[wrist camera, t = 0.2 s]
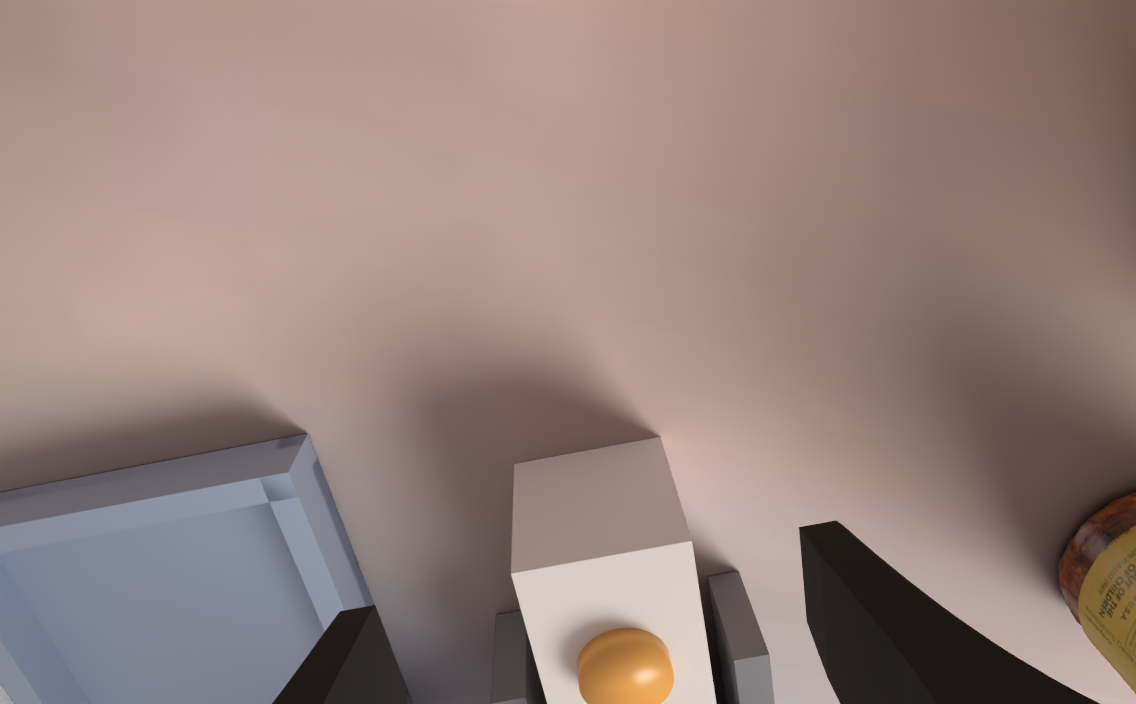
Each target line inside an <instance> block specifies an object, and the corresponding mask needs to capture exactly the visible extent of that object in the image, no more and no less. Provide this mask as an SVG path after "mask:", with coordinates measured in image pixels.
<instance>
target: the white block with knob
mask: <svg viewBox="0 0 1136 704" xmlns="http://www.w3.org/2000/svg"><path fill="white" fill-rule="evenodd" d="M511 576H512V580H513V583H514V587H515V590H516V594H517V597H518V601H519V605H520V608H521V612H522V615H523V619H524V623H525V626H526V630H527V633H528V637H529V640H530V644H531V648H532V651H533V655H534V658H535V662H536V666H537V669H538V673H539V676H540V680H541V683H542V687H543V691H544V694H545V698H546V701H547V704H716V697H715V690H714V684H713V677H712V670H711V664H710V657H709V650H708V644H707V637H706V631H705V624H704V617H703V611H702V604H701V597H700V591H699V584H698V577H697V571H696V564H695V557H694V551H693V544H692V539H691V536H690V533H689V529H688V526H687V523H686V519H685V516H684V513H683V509H682V506H681V503H680V500H679V496H678V493H677V490H676V486H675V483H674V480H673V477H672V473H671V470H670V467H669V463H668V460H667V457H666V453H665V450H664V447H663V444H662V440H661V437H656V438H651V439H646V440H640V441H635V442H630V443H624V444H619V445H613V446H608V447H603V448H597V449H592V450H587V451H581V452H576V453H570V454H565V455H560V456H554V457H549V458H544V459H538V460H533V461H528V462H522V463H517V464H514V486H513V520H512V553H511Z"/></svg>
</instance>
